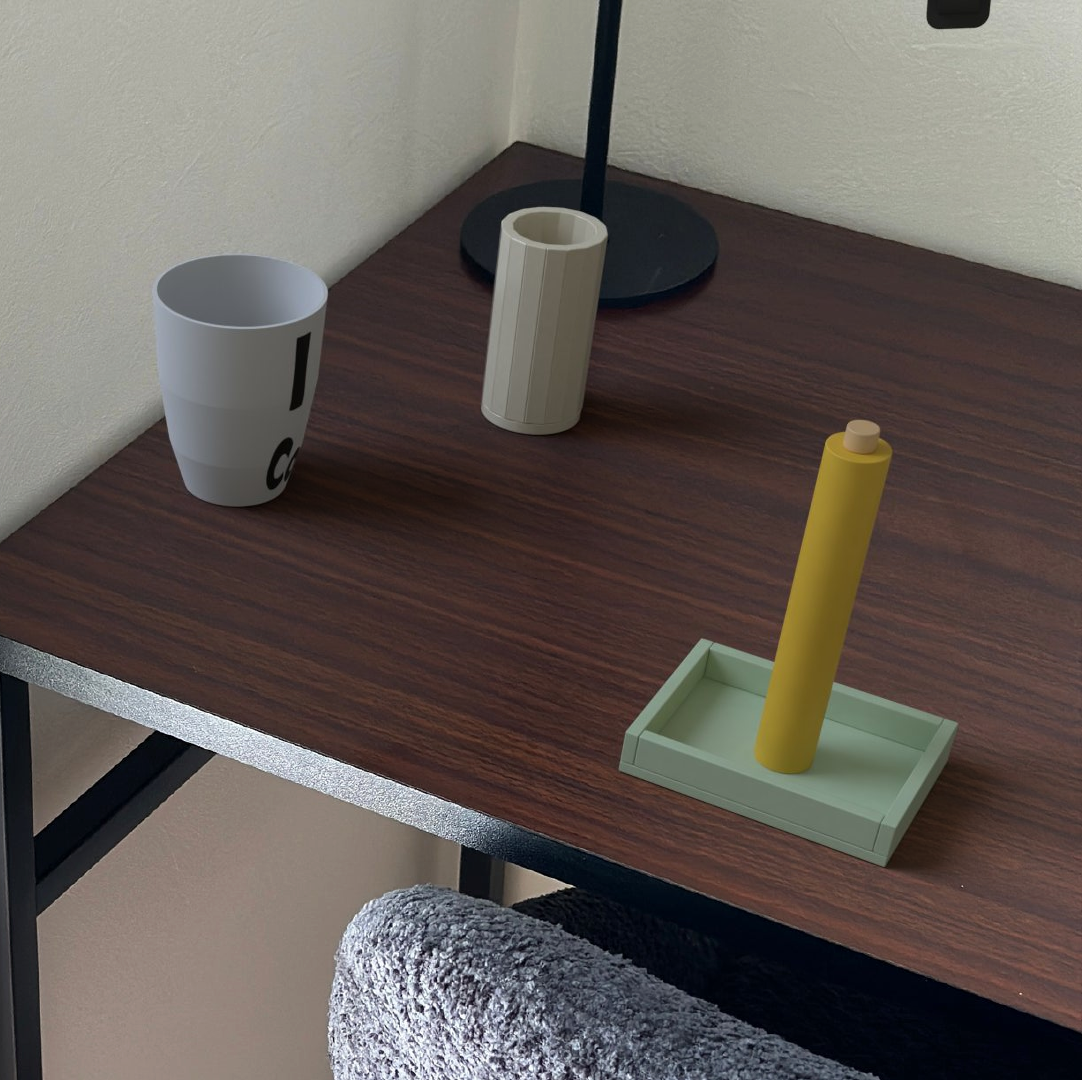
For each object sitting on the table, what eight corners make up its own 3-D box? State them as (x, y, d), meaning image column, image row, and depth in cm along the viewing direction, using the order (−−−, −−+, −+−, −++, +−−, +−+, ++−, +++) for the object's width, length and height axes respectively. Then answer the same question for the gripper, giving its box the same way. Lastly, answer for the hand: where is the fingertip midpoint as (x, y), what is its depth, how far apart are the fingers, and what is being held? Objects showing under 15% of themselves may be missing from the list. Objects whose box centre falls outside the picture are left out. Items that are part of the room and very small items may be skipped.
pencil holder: (577, 390, 111) (603, 209, 105) (583, 437, 107) (611, 251, 101) (479, 385, 111) (499, 204, 105) (482, 432, 107) (503, 246, 101)
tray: (947, 761, 86) (959, 722, 85) (884, 868, 81) (896, 827, 79) (693, 675, 91) (701, 637, 89) (618, 770, 85) (625, 731, 84)
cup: (303, 531, 99) (314, 336, 93) (136, 512, 100) (136, 318, 94) (326, 450, 105) (338, 262, 99) (169, 433, 106) (171, 245, 100)
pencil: (808, 740, 86) (891, 413, 77) (816, 776, 84) (903, 444, 75) (749, 737, 86) (825, 409, 77) (757, 772, 84) (836, 441, 75)
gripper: (1134, -508, 65) (1069, 39, 74) (1103, -503, 77) (1050, -31, 85) (883, -482, 67) (848, 47, 76) (889, -481, 79) (858, -22, 87)
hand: (955, 5), depth 80 cm, fingers open, 8 cm apart
